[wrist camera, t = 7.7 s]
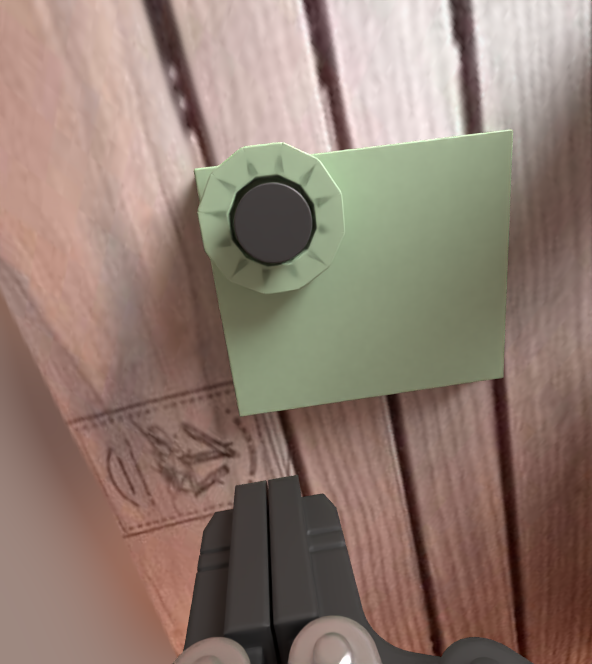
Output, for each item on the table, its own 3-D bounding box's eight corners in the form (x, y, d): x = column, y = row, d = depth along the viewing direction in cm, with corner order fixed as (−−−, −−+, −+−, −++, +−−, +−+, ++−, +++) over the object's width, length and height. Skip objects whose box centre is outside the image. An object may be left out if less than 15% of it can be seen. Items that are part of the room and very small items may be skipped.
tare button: (242, 262, 18) (240, 268, 16) (230, 188, 17) (227, 187, 15) (311, 253, 18) (316, 258, 16) (303, 179, 17) (308, 177, 15)
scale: (240, 404, 23) (238, 434, 20) (196, 160, 19) (184, 153, 16) (489, 367, 23) (521, 391, 20) (497, 122, 19) (537, 109, 16)
